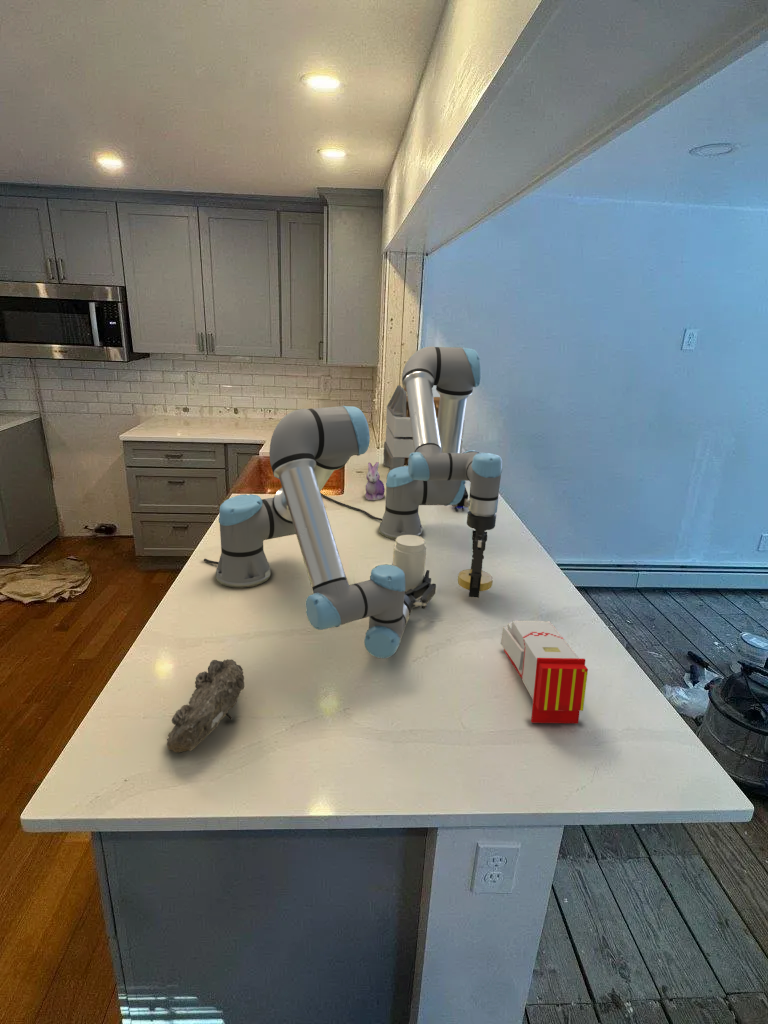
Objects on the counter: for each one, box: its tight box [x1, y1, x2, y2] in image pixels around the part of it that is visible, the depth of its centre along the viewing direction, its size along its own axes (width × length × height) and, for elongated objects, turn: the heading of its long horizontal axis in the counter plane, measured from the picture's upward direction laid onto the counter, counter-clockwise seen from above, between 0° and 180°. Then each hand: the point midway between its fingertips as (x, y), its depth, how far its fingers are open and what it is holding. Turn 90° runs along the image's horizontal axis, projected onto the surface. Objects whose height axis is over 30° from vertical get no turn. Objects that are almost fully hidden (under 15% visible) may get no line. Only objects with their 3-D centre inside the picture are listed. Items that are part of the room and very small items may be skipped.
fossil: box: [166, 658, 245, 754], centre depth 106 cm, size 22×10×15 cm
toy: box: [500, 620, 589, 724], centre depth 121 cm, size 12×13×30 cm
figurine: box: [364, 461, 386, 501], centre depth 234 cm, size 9×10×15 cm
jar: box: [392, 535, 427, 609], centre depth 152 cm, size 9×9×18 cm
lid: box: [457, 568, 494, 592], centre depth 156 cm, size 9×10×2 cm
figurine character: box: [451, 486, 469, 512], centre depth 229 cm, size 7×8×15 cm
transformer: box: [383, 384, 465, 471], centre depth 268 cm, size 34×33×41 cm
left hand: (411, 572), depth 157 cm, fingers closed on jar, 9 cm apart
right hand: (474, 588), depth 157 cm, fingers closed on lid, 9 cm apart
